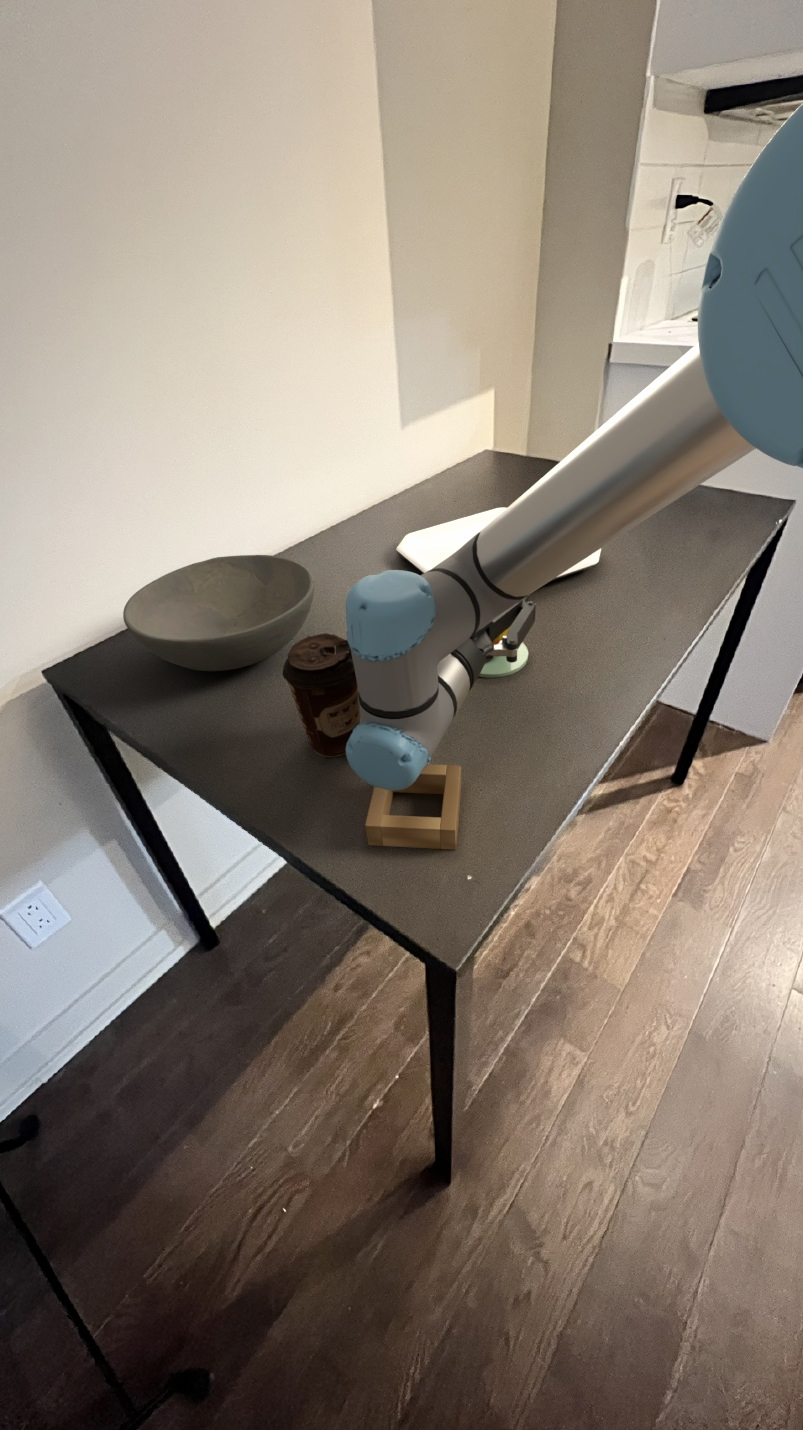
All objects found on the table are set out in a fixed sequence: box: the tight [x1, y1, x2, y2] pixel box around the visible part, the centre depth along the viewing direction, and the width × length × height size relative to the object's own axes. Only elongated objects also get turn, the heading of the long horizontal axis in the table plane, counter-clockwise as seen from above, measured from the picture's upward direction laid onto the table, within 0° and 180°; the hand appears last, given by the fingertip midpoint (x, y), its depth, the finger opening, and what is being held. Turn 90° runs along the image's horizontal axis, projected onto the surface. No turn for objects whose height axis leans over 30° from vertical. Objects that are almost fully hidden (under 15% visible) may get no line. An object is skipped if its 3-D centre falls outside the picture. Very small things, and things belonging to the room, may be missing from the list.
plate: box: [395, 507, 603, 582], centre depth 108 cm, size 29×29×2 cm
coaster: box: [478, 642, 529, 679], centre depth 86 cm, size 10×10×1 cm
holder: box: [364, 763, 463, 851], centre depth 64 cm, size 9×9×3 cm
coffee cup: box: [282, 632, 361, 758], centre depth 71 cm, size 9×8×13 cm
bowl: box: [122, 554, 315, 672], centre depth 90 cm, size 26×26×10 cm
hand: (504, 577), depth 83 cm, fingers closed on supplement bottle, 5 cm apart
